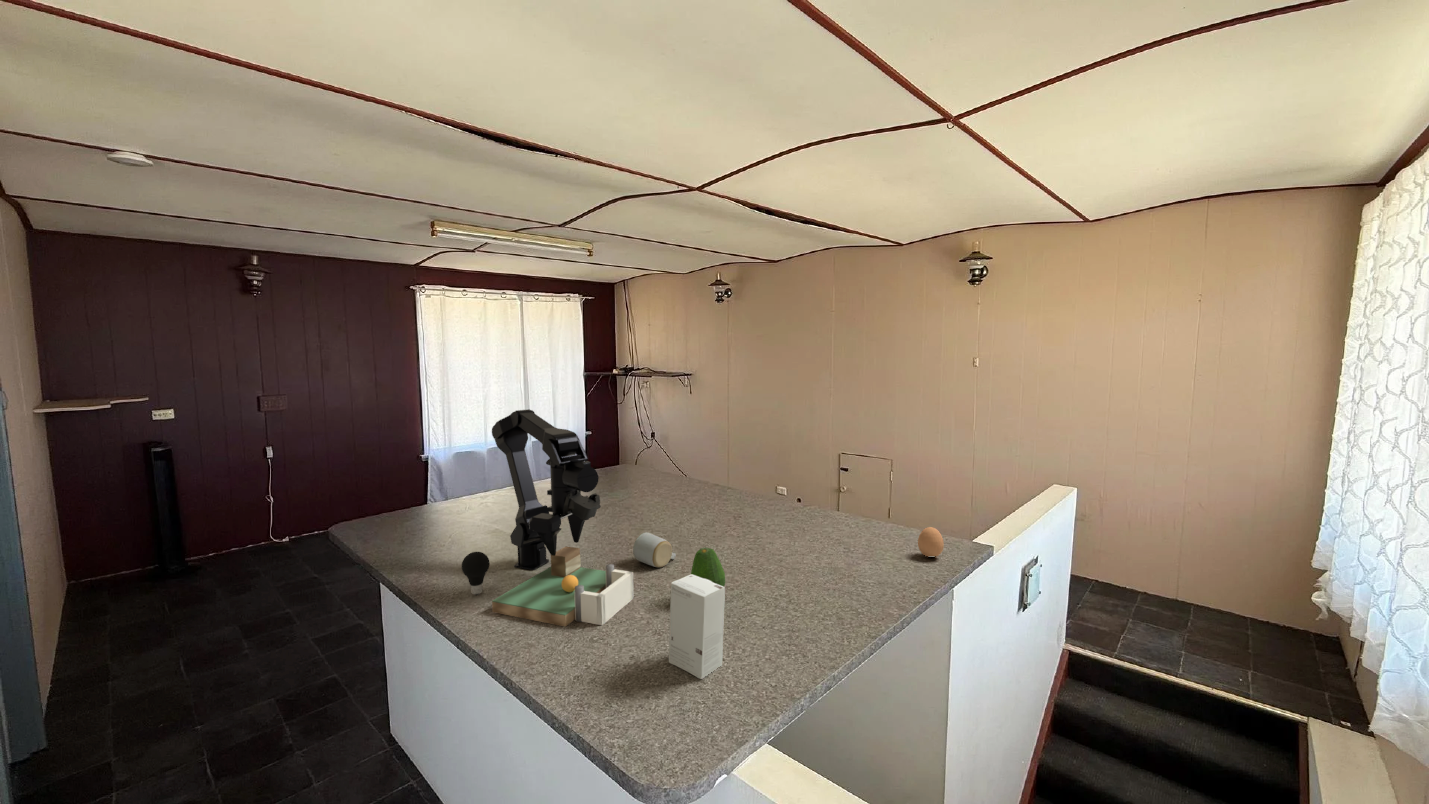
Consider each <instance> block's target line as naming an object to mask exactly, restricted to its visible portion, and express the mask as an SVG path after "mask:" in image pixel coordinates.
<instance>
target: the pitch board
mask: <svg viewBox="0 0 1429 804" xmlns="http://www.w3.org/2000/svg"><path fill="white" fill-rule="evenodd" d="M570 575H573V576H575V577H576V578H577V579H578V585H583V586H584V591H588V592H594V593H599V594H600V593H601V592H602V591H603V590H605V589H606V570H601V569H594V568H588V567H582V566H580V569H578V570H577V571H575V572H573V573H572V574H570ZM563 579H564V577H559V576H553V575H551V566H550V567H547V568H546V569H544V570H542V571H540V572H539V573H537V574H535V575H533V576H532V577H531V578H529V579H527V580H525V581H524V582H522V583H519V584H518V585H516V586H515V587H513V588H511V589H509V590H508V591H506V592H505V593H503V594H502V595H500V596H498V597H496V598H495V599H493V600H491V605H492V613H496V614H499V615H501V614H502V615H505V616H511V617H515V618H521V619H525V620H526V619H527V620H531V621H536V622H540V623H541V622H542V623H545V624H551V625H555V626H561V627H567V626H569V625H570V624H571V623H572V622H574V621H576V620H575V593H574V592H575V590H574V591H572V592H566V591H564V590H563V588H562V580H563Z"/></svg>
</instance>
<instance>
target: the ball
mask: <svg viewBox="0 0 1429 804" xmlns="http://www.w3.org/2000/svg"><path fill="white" fill-rule="evenodd" d="M577 585H578V579H577V578H576V577H575V576H573V575H568V576H566V577H564V579H563V580H562V588H563V590H564V591H566V592H572V591H574V590H575V586H577Z"/></svg>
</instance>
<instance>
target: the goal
mask: <svg viewBox="0 0 1429 804" xmlns="http://www.w3.org/2000/svg"><path fill="white" fill-rule="evenodd" d="M605 571H606V589H605V590H603V591H602V592H601V593H600V594H599V593H594V592H588V591H584V586H583V585H577V586H575V592H574V593H575V620H574V621H576V622H578V623H579V622H582V623H589V624H593V625H600V626H604V624H606V623H607V622H608V621H609V620H610V619H612V618H613V617H614V616H615V615H616V614H617V613H618V612H620V611H621V610H622V609H623V608H624V607H626V605H628V604H629V602H630V603H631V601H632V600H633V599H634V595H635V594H634V591H635V590H634V585H635V584H634V572H633V571H629V570H623V569H616V568H615V564H614V563H609V564H606V565H605Z"/></svg>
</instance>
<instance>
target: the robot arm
mask: <svg viewBox="0 0 1429 804" xmlns="http://www.w3.org/2000/svg"><path fill="white" fill-rule="evenodd" d="M528 434H529V435H530V436H531V437H532V438H534V439H535V440H536V441H538V442H540V444H541V445H542V447H541V449H542V451H543V452H544V453H545V454H546V455H547V456H548V459H547V460H546V462H545V464H546V465H547V466H550V489H548V490H547V491H546V494H547V496H550V501H551V503H550V504H551V505H550V506H547V505H546V504H545V505H544V504H542V503H541V502H539V500H538V496H537V495H538V494H537V491H536V488H535V484H534V480H533V476H532V472H531V468H530V464H529V461H528V457H527V453H526V447H527V443H528V441H529V435H528ZM491 435H492V438H493V440H494V441H495V444H496V447H497V448H498V449H499V450H500V451H501V452H502V453H503V454H504V455H505V457H506V461H507V465H508V469H509V473H510V476H511V480H512V481H511V482H512V484H513V489H514V492H515V496H516V500H517V505H518V510H517V512H516V516H515V518H514V519H515V520H514V521H515V527H514V529H513V531H511V534H510V535H509V537H510V543H511V544H512V545H514V546H516V547H517V562H516V563H515V564H514V565H513V567H514V568H518V569H525V570H529V571H530V570H532V571H535V570H537V569H538V568H540V567H542V566H544V565H545V564H547V563H549V562H550V559H549V558H547V551H548V553H549V554H550V556H551V555H552V556H555V555H556V552H557V540H558V535H559V532H560V531H561V530H562V529H563V528H561V525H562V519H565V518H567V521H568V525H569V529H570V532H571V537H572V540H573V543H576V544H578V543H579V541H580V538H581V534H582V531H583V528H584V524H585V522H586V521H588V520H590V519H591V518H595V516H596V513H597V512H598V511H597V510H599V509H600V508H601V498H600V497H601V496H600V495H599V494H597V493H592V494H590V495H582V493H581V492H583V493H590V492H592V491H594V489H595V488H596V487H597V486H598V483H599V479H600V478H599V475H598V471H597V470H596V469H595V468H594V467H592V464H591V461H588V456H587V452H586V450H585V449H584V447H583V445H582V442H581V440H580V438H579V437H578V435H577V433H576V432H574V431H572V430H569V429H565V428H557V427H555V426H554V425H552V424H551V423H550V422H548V421H546V420H545V419H543V418H542V417H540V416H539V415H538V414H536V413H535V410H533V409H520V410H519V409H518V410H515V411H512V413H510V414H509V415H507V416H505V417H503V418H501V419H499V420H498V421H496V422H495V424H494V425H493V426H492V427H491Z"/></svg>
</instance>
